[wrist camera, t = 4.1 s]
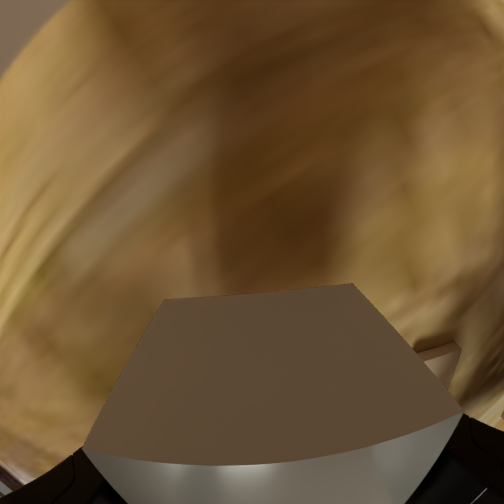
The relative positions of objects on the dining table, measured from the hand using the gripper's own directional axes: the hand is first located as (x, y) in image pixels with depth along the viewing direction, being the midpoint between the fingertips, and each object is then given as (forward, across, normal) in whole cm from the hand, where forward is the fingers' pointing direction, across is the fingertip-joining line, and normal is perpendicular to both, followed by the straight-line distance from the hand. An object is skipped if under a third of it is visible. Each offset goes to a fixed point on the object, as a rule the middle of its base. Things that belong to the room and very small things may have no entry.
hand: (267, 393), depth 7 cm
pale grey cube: (+1, 0, 0) cm, 1 cm away
